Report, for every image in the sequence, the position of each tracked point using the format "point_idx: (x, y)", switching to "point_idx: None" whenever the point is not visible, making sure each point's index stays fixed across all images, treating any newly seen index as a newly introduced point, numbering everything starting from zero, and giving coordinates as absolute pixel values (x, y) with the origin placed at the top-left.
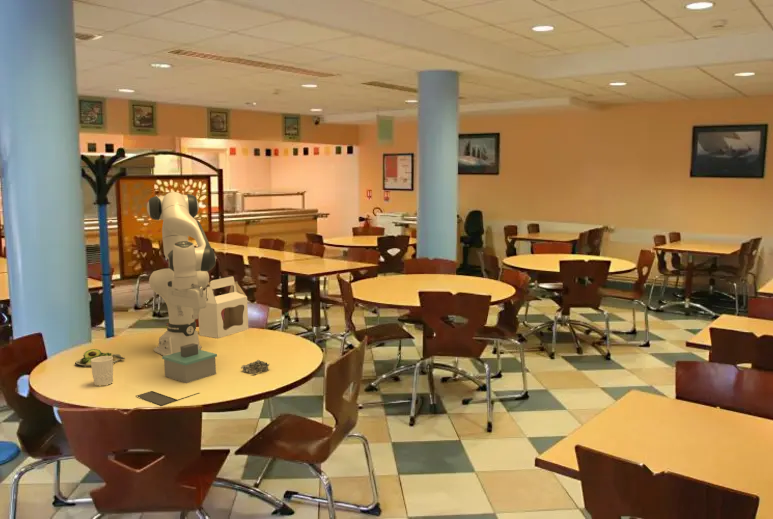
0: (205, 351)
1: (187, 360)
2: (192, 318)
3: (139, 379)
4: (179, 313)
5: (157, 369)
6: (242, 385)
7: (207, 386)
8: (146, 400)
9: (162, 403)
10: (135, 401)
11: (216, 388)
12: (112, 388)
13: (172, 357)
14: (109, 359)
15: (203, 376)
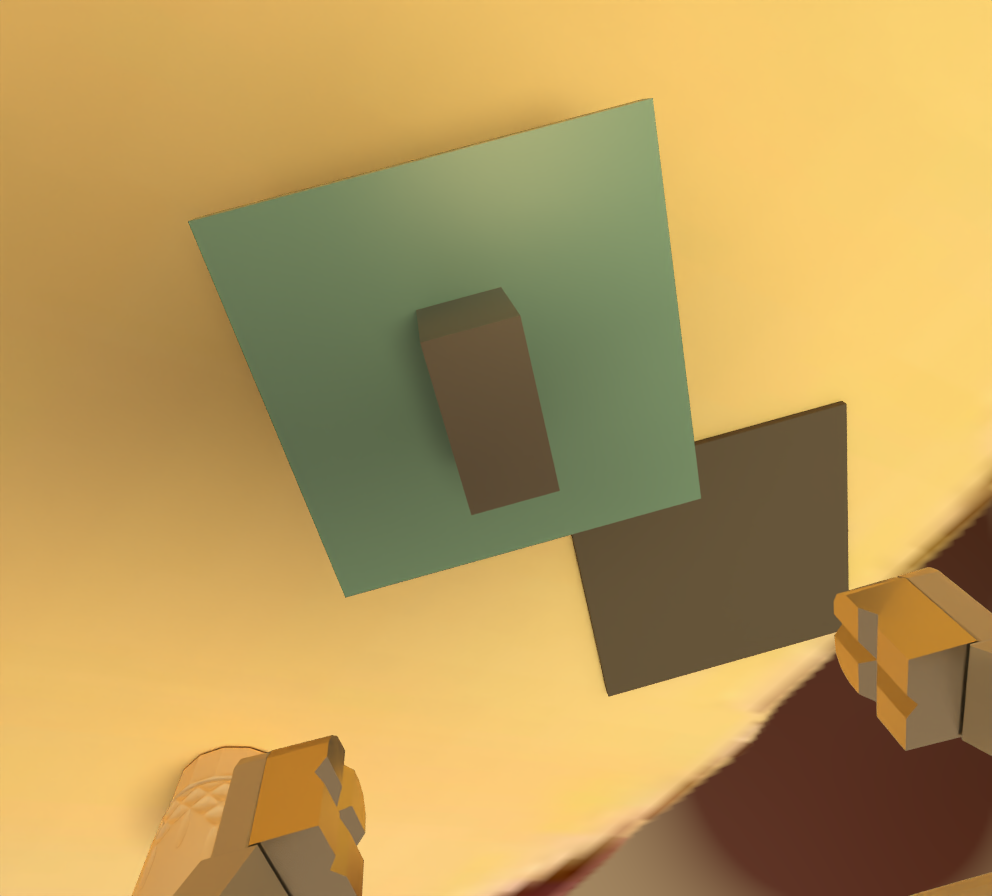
0: (446, 166)
1: (643, 456)
2: (855, 670)
3: (275, 619)
4: (357, 873)
5: (69, 464)
6: (963, 56)
7: (761, 300)
8: (709, 663)
9: (835, 619)
10: (675, 703)
11: (851, 265)
12: (367, 759)
13: (446, 535)
14: (157, 893)
15: None
